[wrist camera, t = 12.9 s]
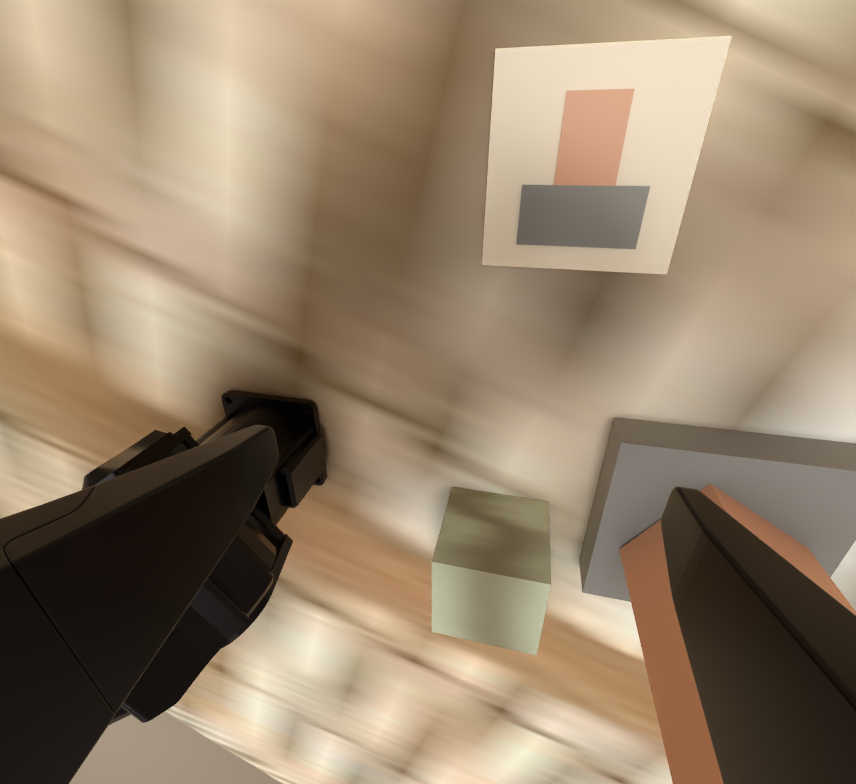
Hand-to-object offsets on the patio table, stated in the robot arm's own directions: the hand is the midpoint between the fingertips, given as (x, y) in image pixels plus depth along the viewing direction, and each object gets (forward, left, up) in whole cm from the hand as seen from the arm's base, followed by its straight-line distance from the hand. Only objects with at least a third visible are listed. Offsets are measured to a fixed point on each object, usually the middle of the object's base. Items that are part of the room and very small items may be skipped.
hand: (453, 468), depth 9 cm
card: (+3, +6, -13) cm, 15 cm away
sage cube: (+1, -15, -13) cm, 20 cm away
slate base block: (+12, -11, -14) cm, 21 cm away
